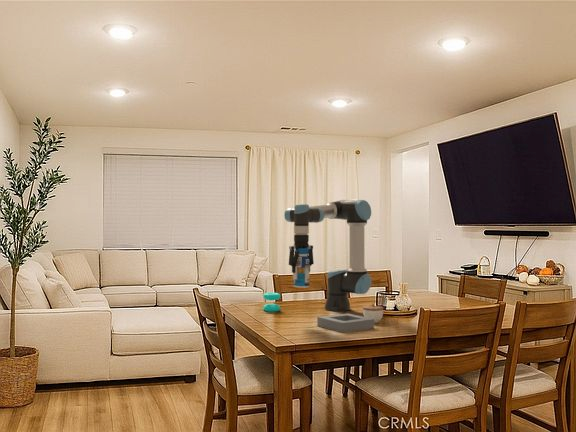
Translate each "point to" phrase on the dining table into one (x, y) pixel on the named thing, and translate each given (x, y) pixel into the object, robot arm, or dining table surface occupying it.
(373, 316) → the lidded jar
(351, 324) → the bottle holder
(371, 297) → the dining table surface
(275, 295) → the donuts
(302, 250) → the beverage bottle
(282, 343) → the dining table surface
